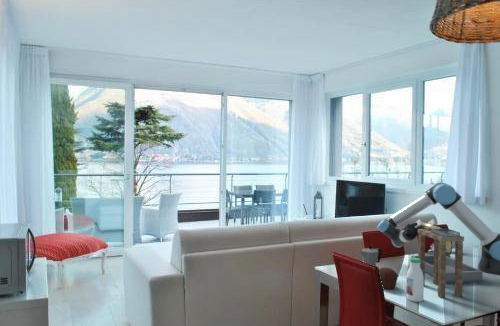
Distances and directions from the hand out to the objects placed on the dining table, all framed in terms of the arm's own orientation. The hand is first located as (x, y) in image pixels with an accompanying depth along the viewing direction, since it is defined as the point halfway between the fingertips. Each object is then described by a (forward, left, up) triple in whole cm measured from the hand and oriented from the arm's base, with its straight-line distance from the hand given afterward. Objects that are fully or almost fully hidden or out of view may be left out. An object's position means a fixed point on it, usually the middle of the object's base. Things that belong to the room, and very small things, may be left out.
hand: (427, 221), depth 211 cm
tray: (-16, -20, -34) cm, 43 cm away
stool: (-3, +11, -34) cm, 36 cm away
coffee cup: (-35, -75, -34) cm, 90 cm away
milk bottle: (+13, +26, -34) cm, 45 cm away
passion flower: (-26, -61, -34) cm, 75 cm away
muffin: (+23, +10, -34) cm, 42 cm away
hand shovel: (-2, +6, -4) cm, 7 cm away
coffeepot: (+28, -8, -34) cm, 45 cm away
